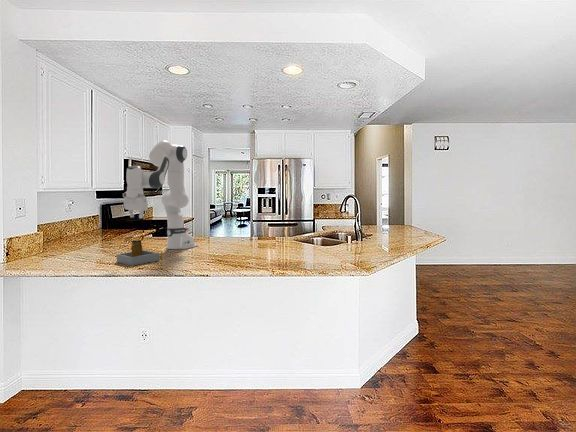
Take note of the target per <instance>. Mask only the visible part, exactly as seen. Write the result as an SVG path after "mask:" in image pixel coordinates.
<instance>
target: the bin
mask: <svg viewBox="0 0 576 432" xmlns="http://www.w3.org/2000/svg"><path fill="white" fill-rule="evenodd" d="M142 253H143V255H142V256H136V257H132V251H130V252H123V253H117V254H116V263H117V262H118V263H119V264H123V265H126V264H127V266H130V265H131V267H133V265H134V266H139V265H138V264H140V265H143V264H142V263H145V264H149V263H148V262H151V263H155V261H157V262H160V252H155V251H149V250H146V249H142Z"/></svg>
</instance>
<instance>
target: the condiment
mask: <svg viewBox="0 0 576 432" xmlns="http://www.w3.org/2000/svg"><path fill="white" fill-rule="evenodd" d="M130 246H131V247H130V248H131V249H130V250H131V252H132V257H136V256H142V255H143V253H142V250H143V244H142V240H141V239H133V240H131V245H130Z"/></svg>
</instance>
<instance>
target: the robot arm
mask: <svg viewBox="0 0 576 432" xmlns="http://www.w3.org/2000/svg"><path fill="white" fill-rule="evenodd" d="M148 157H149V161H150V163H151V164H153V166H155V167H157V170H155V171H154V170H153V171H144V170H142V168H141V166H140V165H131V166H128V167H127V168H126V176H125V177H126V184H127V186H126V191H125V192H124V193H122V197H123V208H124V210H128V214H129V217H130V218H135V214H134V213H133V212H134V211H139V214H138V218H139V219H143V217H144V216H143V215H144V214H145V211H148V209H149V206H148V205H149V204H148V199H147V197H146V195H145V194H144V189H160V188H162V187H163V186H164V184H165V181H166V182H167V186H168V188H169V191H168V192H166V193H164V194H163V195H162V196H161V203H162V205H163V206H164V210H165V213H166V220H167V228H166V235H167V238H166V239H167V240H166V247H165V249H166V250H167V249H168V250H186V249H191V248H194V247H198V246H199V245H198V243H196V242H195V238H194V237H193V236H192V235H190V234H189V233H188V231H189V230H190V229H189V227H185V224H184V223H185V222H184V221H185V220H184V219H185V218H184V215H183V213H182V211H181V209H182V208H185V207H187V206H188V204H189V197H188V195H187V192H186V189H185V164H184V161H185V160H187V157H188V150H187V148H186V147H185V146H184V145H180V144H179V145H178V144H171V143H170V142H169V141H167V140H160V141H158V142H157V143H156V144H155V145H154V146H153V148H152V149H151V151H150V152H149V154H148ZM166 175H167V178H166ZM165 178H166V179H167V180H166V179H165Z"/></svg>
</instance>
